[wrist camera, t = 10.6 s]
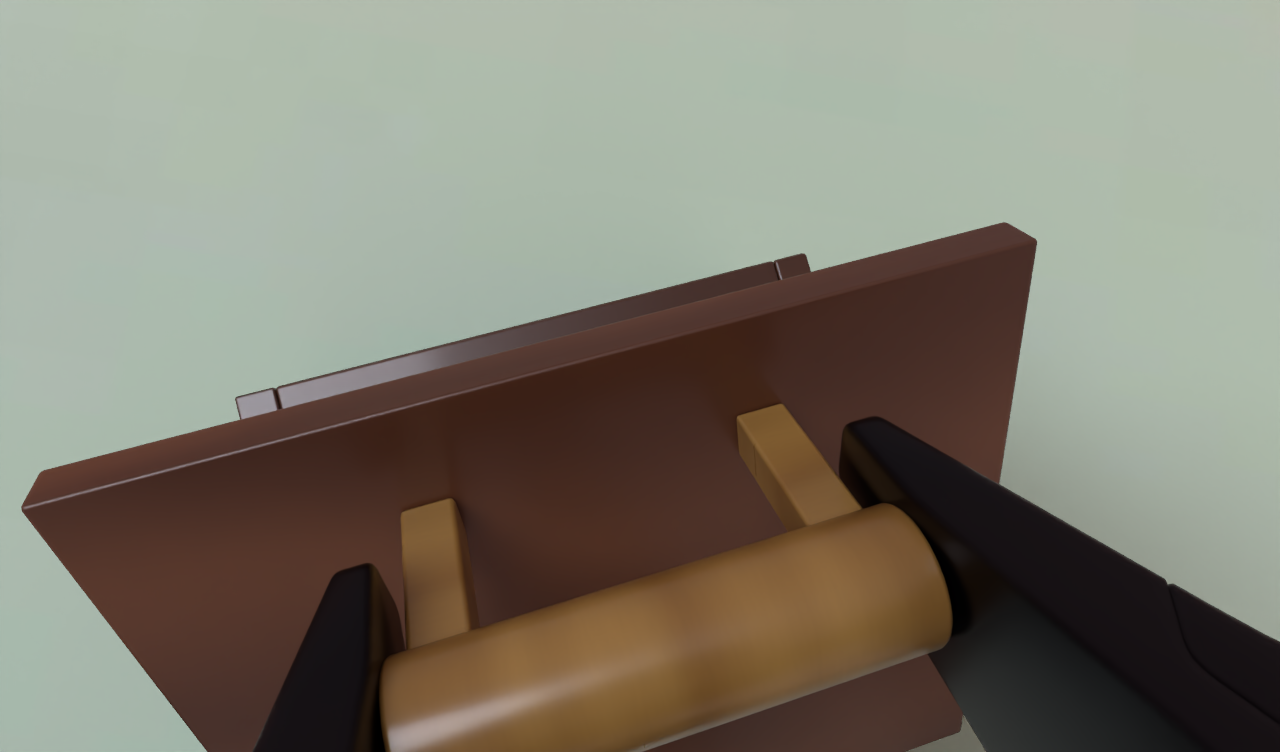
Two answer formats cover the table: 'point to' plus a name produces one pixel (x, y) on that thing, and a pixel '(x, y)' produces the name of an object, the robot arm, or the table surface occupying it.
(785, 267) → the wallet box
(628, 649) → the box lid
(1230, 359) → the table surface
